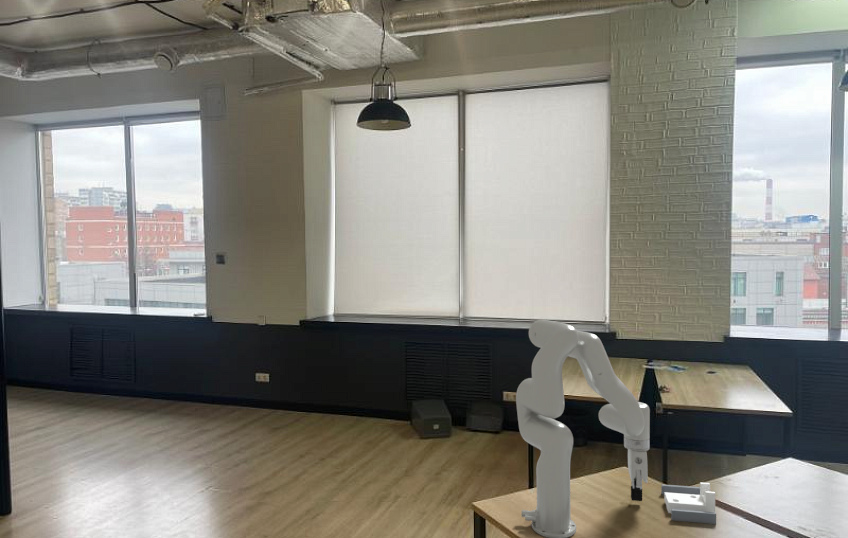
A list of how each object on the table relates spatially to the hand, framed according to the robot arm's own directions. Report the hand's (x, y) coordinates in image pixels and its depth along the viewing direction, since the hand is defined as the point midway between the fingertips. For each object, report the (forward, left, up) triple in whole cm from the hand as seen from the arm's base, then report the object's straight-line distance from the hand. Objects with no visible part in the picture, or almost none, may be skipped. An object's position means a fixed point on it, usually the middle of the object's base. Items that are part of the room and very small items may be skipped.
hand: (636, 499), depth 180 cm
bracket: (+15, -1, -2) cm, 15 cm away
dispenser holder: (+16, 0, -1) cm, 16 cm away
